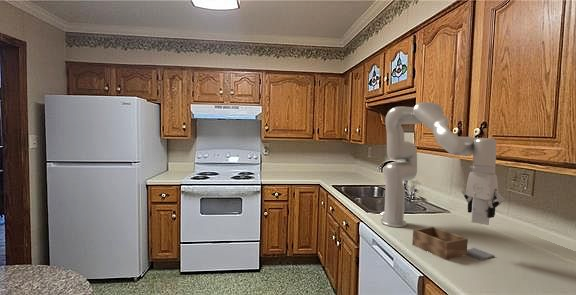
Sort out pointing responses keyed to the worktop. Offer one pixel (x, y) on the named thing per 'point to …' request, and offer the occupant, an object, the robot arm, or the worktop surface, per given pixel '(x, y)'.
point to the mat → (479, 254)
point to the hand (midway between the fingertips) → (480, 214)
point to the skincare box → (479, 211)
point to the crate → (440, 242)
